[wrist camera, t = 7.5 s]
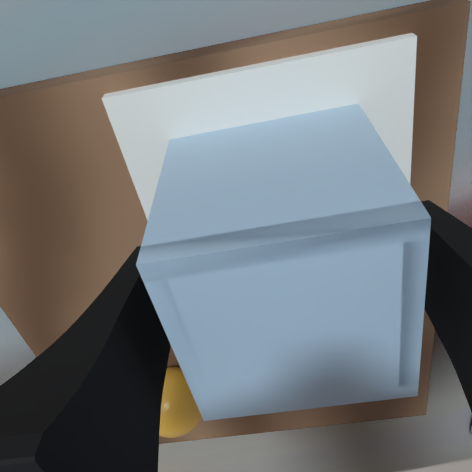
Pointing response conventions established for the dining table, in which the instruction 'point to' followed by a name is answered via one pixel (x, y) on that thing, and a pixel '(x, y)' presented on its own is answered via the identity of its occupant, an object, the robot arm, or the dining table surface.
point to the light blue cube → (288, 265)
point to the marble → (177, 406)
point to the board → (128, 203)
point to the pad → (268, 102)
